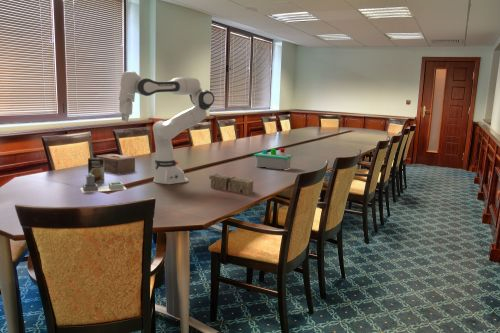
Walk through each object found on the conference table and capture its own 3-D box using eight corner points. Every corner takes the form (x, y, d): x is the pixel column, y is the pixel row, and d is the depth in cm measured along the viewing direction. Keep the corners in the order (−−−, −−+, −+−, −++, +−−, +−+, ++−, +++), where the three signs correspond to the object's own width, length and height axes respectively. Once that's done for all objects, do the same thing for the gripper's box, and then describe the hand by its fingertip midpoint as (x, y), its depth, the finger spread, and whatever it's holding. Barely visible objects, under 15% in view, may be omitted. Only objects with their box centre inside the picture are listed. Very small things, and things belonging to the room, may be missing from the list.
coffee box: (88, 185, 250) (87, 159, 248) (89, 183, 256) (88, 157, 254) (104, 185, 253) (103, 159, 250) (104, 182, 259) (104, 157, 256)
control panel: (260, 145, 343) (294, 148, 331) (259, 164, 345) (293, 168, 334) (252, 146, 329) (288, 150, 317) (252, 167, 332) (287, 171, 320)
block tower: (254, 193, 249) (216, 185, 264) (255, 180, 247) (217, 172, 263) (247, 196, 242) (208, 187, 258) (248, 182, 241) (209, 174, 256)
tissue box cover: (135, 171, 299) (134, 157, 298) (118, 174, 288) (118, 159, 286) (112, 166, 314) (112, 153, 312) (96, 169, 302) (95, 155, 300)
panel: (122, 187, 249) (122, 180, 248) (127, 191, 238) (127, 185, 238) (80, 190, 237) (79, 183, 237) (82, 195, 227) (82, 188, 226)
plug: (93, 188, 237) (93, 173, 235) (94, 190, 233) (94, 174, 232) (86, 189, 235) (85, 173, 233) (87, 190, 232) (86, 174, 230)
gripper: (136, 99, 241) (133, 123, 242) (128, 98, 258) (126, 120, 260) (125, 98, 238) (122, 122, 239) (118, 97, 255) (116, 119, 257)
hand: (124, 121), depth 250 cm, fingers open, 8 cm apart
